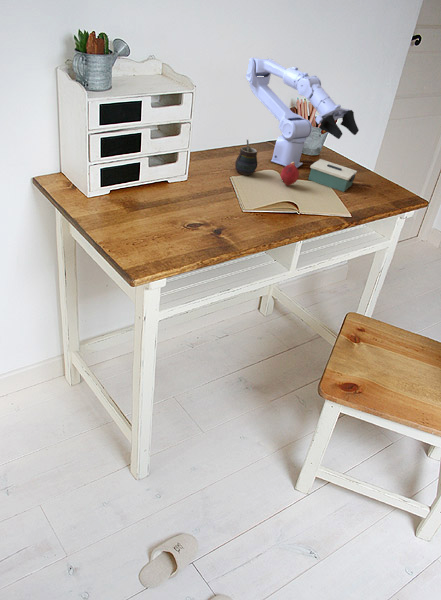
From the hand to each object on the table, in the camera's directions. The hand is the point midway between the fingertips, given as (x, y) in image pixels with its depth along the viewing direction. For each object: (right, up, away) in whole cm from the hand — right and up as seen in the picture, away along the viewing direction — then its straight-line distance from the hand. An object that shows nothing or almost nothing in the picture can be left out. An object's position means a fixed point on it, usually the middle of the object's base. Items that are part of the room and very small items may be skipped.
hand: (348, 134), depth 177 cm
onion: (-19, -16, +4) cm, 25 cm away
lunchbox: (-3, -12, +13) cm, 18 cm away
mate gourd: (-33, -11, +8) cm, 36 cm away
